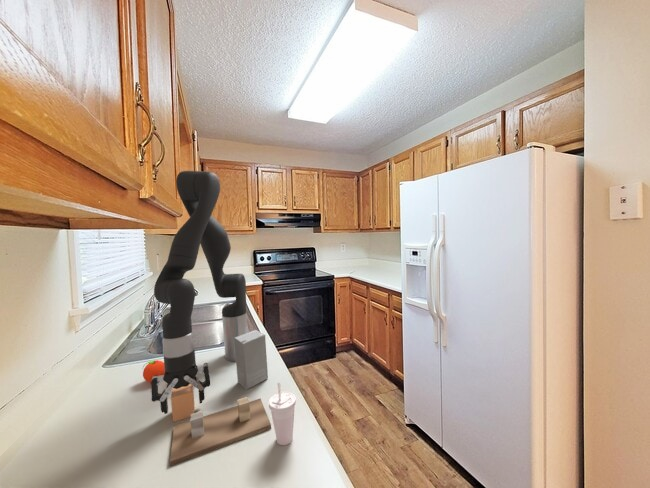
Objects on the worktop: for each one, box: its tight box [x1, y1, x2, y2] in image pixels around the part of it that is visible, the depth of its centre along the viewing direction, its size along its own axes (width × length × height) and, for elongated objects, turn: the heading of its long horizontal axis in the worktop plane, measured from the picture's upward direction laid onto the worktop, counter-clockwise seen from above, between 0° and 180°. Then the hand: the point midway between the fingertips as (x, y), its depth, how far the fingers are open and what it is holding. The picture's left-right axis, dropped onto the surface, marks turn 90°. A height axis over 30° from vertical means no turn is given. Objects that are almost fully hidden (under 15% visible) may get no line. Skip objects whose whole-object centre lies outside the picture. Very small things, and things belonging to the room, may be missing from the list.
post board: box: [169, 396, 272, 467], centre depth 68 cm, size 12×22×6 cm, turn 116°
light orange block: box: [170, 384, 196, 423], centre depth 74 cm, size 5×5×7 cm
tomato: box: [141, 359, 165, 383], centre depth 92 cm, size 8×7×7 cm
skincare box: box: [234, 329, 269, 390], centre depth 88 cm, size 8×7×16 cm
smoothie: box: [268, 381, 297, 446], centre depth 63 cm, size 6×6×14 cm
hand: (183, 406), depth 74 cm, fingers open, 8 cm apart
